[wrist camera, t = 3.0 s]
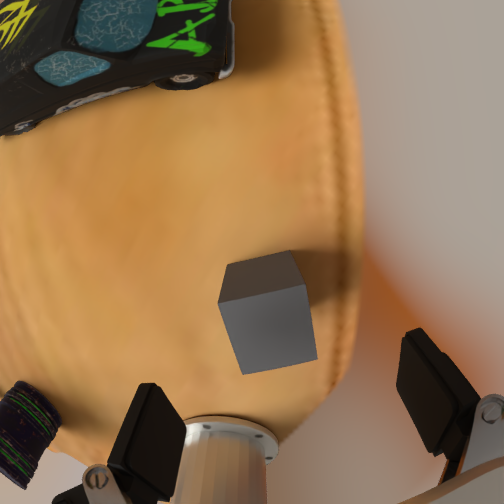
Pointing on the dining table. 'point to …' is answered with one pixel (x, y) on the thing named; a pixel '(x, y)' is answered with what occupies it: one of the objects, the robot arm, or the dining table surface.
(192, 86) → the toy van
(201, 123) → the dining table surface
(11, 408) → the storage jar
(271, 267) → the grey block
